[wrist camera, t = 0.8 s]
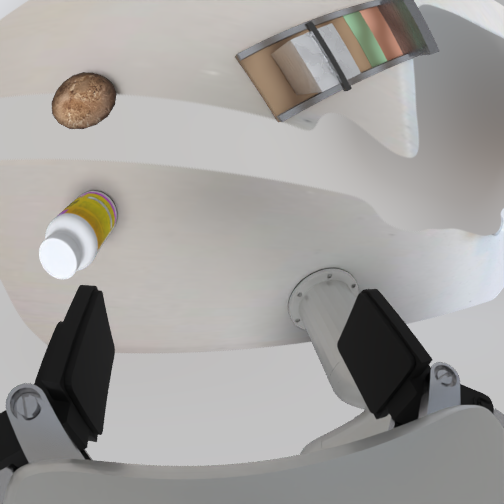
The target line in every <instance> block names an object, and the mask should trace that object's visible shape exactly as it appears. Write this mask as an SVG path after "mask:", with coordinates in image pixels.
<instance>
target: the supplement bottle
mask: <svg viewBox="0 0 504 504" xmlns="http://www.w3.org/2000/svg"><path fill="white" fill-rule="evenodd" d="M116 220H117V212H116V208H115V205H114V203H113V202H112V200H111V199H110V198H109V197H108V196H107V195H105V194H104V193H101V192H98V191H89V192H86V193H84V194H82V195H81V196H80V197H78V198H77V199H76V200H75V201H74V202H72V203H71V204H70V205H69V206H68V207H67V208H65V209H64V210H63V211H62V212H61V213H60V214H59V215H58V216H57V217H55V218H54V219H53V220H52V221H51V223H50V224H49V226H48V228H47V230H46V235H45V240H44V241H43V242H42V244H41V246H40V249H39V258H40V261H41V264H42V266H43V267H44V269H45V270H46V271H47V272H48V273H49V274H50V275H52V276H53V277H55V278H58V279H68V278H70V277H71V276H73V275H74V274H75V272H76V271H78V270H82V269H84V268H86V267H87V266H89V265H90V264H91V263H92V261H93V260H94V258H95V257H96V255H97V253H98V252H99V250H100V248H101V247H102V245H103V244H104V242H105V241H106V239H107V238H108V236H109V235H110V233H111V231H112V230H113V228H114V227H115V224H116Z"/></svg>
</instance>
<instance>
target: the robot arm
mask: <svg viewBox="0 0 504 504" xmlns="http://www.w3.org/2000/svg"><path fill="white" fill-rule="evenodd" d="M288 310H289V315H290V317H291V320H292V321H293V323H294V324H295V325H296V326H298V327H299V328H301V329H303V330H307V332H308V335H309V337H310V339H311V341H312V344H313V346H314V348H315V350H316V352H317V355H318V357H319V359H320V361H321V364H322V366H323V368H324V371H325V373H326V375H327V377H328V380H329V382H330V384H331V386H332V388H333V391H334V392H335V394H336V395H337V396H338V397H339V398H340V399H341V400H342V401H344V402H345V403H347V404H350V405H352V406H355V407H358V408H361V409H365V410H364V412H362V413H361V414H360V415H358V416H357V417H355V418H354V419H353V420H351V421H349V422H347V423H346V424H344V425H342V426H340V427H338V428H337V429H334V430H333V431H331V432H329V433H327V434H325V435H323V436H321V437H319V438H317V439H315V440H313V441H312V442H310V443H309V444H308V445H306V446H305V447H304V448H303V450H302V452H301V454H300V455H296V456H291V457H285V458H279V459H273V460H266V461H258V462H249V463H241V464H228V465H212V466H154V465H137V464H124V463H116V462H104V461H93V460H92V458H91V457H90V455H89V454H88V453H87V451H86V450H85V448H87V444H88V443H87V442H88V441H94V442H97V435H98V434H99V435H101V434H102V432H103V424H104V416H105V409H106V401H107V394H108V388H109V382H110V376H111V370H112V365H113V360H114V354H115V348H114V343H113V339H112V335H111V331H110V326H109V322H108V317H107V313H106V308H105V303H104V298H103V293H102V291H99V290H98V289H97V287H96V286H88V285H80V286H79V288H78V290H77V292H76V294H75V297H74V299H73V301H72V303H71V305H70V307H69V310H68V312H67V314H66V316H65V319H64V321H63V322H61V321H60V322H59V323H58V324H57V326H56V328H55V330H54V333H53V335H52V338H51V340H50V342H49V345H48V348H47V350H46V353H45V355H44V358H43V361H42V363H41V366H40V369H39V372H38V375H37V378H36V380H35V384H31V383H30V384H29V383H28V384H27V383H26V384H25V383H24V384H21V385H18V386H16V387H15V388H13V389H12V390H11V392H10V393H9V394H8V397H7V399H6V411H4V412H2V413H0V504H504V415H503V414H502V413H501V412H499V411H498V410H496V409H495V410H494V408H493V404H492V401H491V400H490V398H489V397H488V396H486V395H485V394H483V393H481V392H478V391H476V390H473V389H471V388H468V387H466V386H464V385H461V384H460V379H459V375H458V373H457V372H456V371H455V369H454V368H453V367H451V366H450V365H448V364H446V363H443V362H437V363H434V364H433V365H432V367H431V368H430V366H429V364H430V362H431V361H432V358H431V357H430V356H429V354H428V353H427V352H426V350H425V349H424V347H423V346H422V345H421V343H420V342H419V341H418V339H417V338H416V337H415V336H414V334H413V333H412V332H411V331H410V329H409V328H408V326H407V325H406V324H405V323H404V321H403V320H402V319H401V318H400V316H399V315H398V314H397V313H396V311H395V310H394V309H393V308H392V306H391V305H390V304H389V303H388V301H387V300H386V299H385V298H384V297H383V295H382V294H381V293H380V292H379V291H378V290H377V289H365V290H363V291H362V292H361V293H360V294H359V288H358V284H357V282H356V280H355V279H354V278H353V277H352V275H350V274H349V273H348V272H346V271H344V270H341V269H325V270H321V271H318V272H315V273H313V274H311V275H310V276H308V277H307V278H305V279H304V280H303V281H302V282H301V283H300V284H299V285H298V286H297V287H296V288H295V290H294V291H293V293H292V295H291V297H290V300H289V304H288Z"/></svg>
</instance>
